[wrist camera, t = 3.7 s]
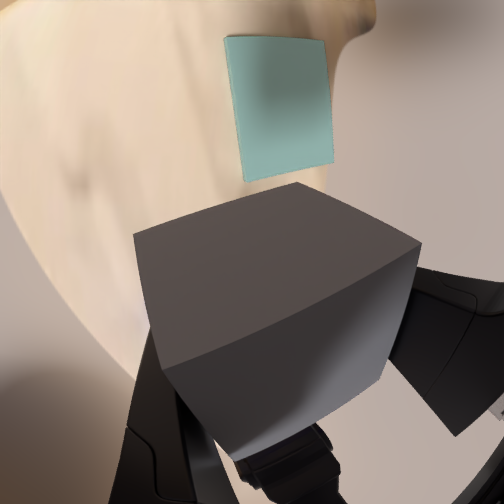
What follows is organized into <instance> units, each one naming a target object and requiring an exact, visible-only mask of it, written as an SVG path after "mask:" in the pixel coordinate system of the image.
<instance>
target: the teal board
mask: <svg viewBox="0 0 504 504" xmlns="http://www.w3.org/2000/svg"><path fill="white" fill-rule="evenodd" d="M224 44H225V51H226V58H227V65H228V72H229V79H230V86H231V93H232V100H233V107H234V114H235V121H236V128H237V135H238V142H239V149H240V156H241V163H242V171H243V178H244V181H245V182H251V181H255V180H259V179H263V178H267V177H271V176H275V175H279V174H284V173H288V172H292V171H297V170H301V169H306V168H311V167H315V166H320V165H325V164H330V163H334V149H333V129H332V113H331V100H330V89H329V79H328V70H327V61H326V53H325V46H324V41H321V40H313V39H303V38H290V37H270V36H238V37H226V38H224Z"/></svg>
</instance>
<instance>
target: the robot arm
mask: <svg viewBox="0 0 504 504" xmlns="http://www.w3.org/2000/svg"><path fill="white" fill-rule="evenodd" d="M388 359H389V360H390V361H391V362H392V364H393V365H394V366H395V367H396V368H397V369H398V370H399V371H400V373H401V374H402V375H403V376H404V377H405V378H406V380H407V381H408V382H409V383H410V384H411V385H412V387H413V388H414V389H415V390H416V391H417V392H418V394H419V395H420V396H421V397H422V398H423V400H424V401H425V402H426V403H427V404H428V405H429V407H430V408H431V409H432V410H433V411H434V413H435V414H436V415H437V416H438V417H439V419H440V420H441V421H442V422H443V423H444V425H445V426H446V427H447V428H448V429H449V431H450V432H451V433H452V434H453V435H454V436H455V437H456V436H457V435H458V434H460V433H461V432H462V431H463V430H465V429H466V428H467V427H468V426H470V425H471V424H472V423H473V422H474V421H475V420H476V419H478V417H480V416H481V415H482V414H483V413H484V412H485V411H486V410H487V409H488V410H489V411H490V412H491V413H492V414H493V415H494V416H495V417H496V418H497V419H498V420H499V421H500V420H501V419H503V420H504V282H494V281H488V280H482V279H475V278H469V277H463V276H458V275H453V274H448V273H443V272H439V271H435V270H433V271H432V270H430V269H425V268H421V267H417V268H416V272H415V276H414V280H413V284H412V287H411V291H410V294H409V298H408V301H407V305H406V308H405V311H404V314H403V318H402V321H401V324H400V327H399V330H398V332H397V335H396V338H395V341H394V344H393V346H392V349H391V352H390V354H389V357H388ZM127 426H128V427H126V429H125V435H124V440H123V445H122V450H121V455H120V460H119V463H118V467H117V471H116V475H115V479H114V483H113V487H112V491H111V494H110V498H109V502H108V504H239V502H238V500H237V497H236V495H235V493H234V490H233V488H232V486H231V483H230V481H229V478H228V476H227V473H226V471H225V468H224V466H223V463H222V461H221V458H220V456H219V453H218V450H217V448H216V445H215V442H214V439H213V437H212V436H211V435H210V434H209V433H208V431H207V430H206V429H205V428H204V426H203V425H202V424H201V423H200V422H199V420H198V419H197V418H196V416H195V415H194V414H193V413H192V411H191V410H190V409H189V407H188V406H187V405H186V403H185V402H184V401H183V399H182V398H181V397H180V395H179V394H178V392H177V391H176V390H175V388H174V387H173V385H172V384H171V383H170V381H169V380H168V378H167V377H166V375H165V374H164V372H163V371H162V368H161V365H160V361H159V358H158V354H157V351H156V347H155V343H154V339H153V335H152V331H151V327H150V329H149V333H148V336H147V340H146V344H145V347H144V351H143V355H142V359H141V363H140V367H139V371H138V375H137V379H136V383H135V387H134V392H133V396H132V401H131V406H130V410H129V415H128V420H127ZM332 450H333V446H332V444H331V442H330V440H329V438H328V437H327V435H326V434H325V432H324V431H323V430H322V429H321V428H320V427H319V426H318V425H317V424H316V422H315V423H313V424H312V425H310V426H308V427H306V428H305V429H303V430H301V431H299V432H297V433H295V434H294V435H292V436H290V437H288V438H286V439H284V440H282V441H280V442H278V443H276V444H274V445H272V446H270V447H268V448H266V449H263V450H261V451H259V452H257V453H255V454H252V455H250V456H248V457H245V458H243V459H241V460H238V461H236V462H234V461H233V462H234V464H235V467H236V469H237V472H238V474H239V477H240V479H241V480H242V481H243V482H247V483H249V484H250V485H251V486H253V488H254V489H255V490H257V489H259V488H262V490H263V491H264V493H265V494H266V496H267V497H268V499H269V500H271V501H272V502H274V503H277V504H347V503H346V502H345V500H344V499H343V498H342V496H341V495H340V493H339V492H338V489H339V475H340V473H341V471H340V464H339V462H338V461H337V460H336V458H335V457H334V455H333V454H332V452H331V451H332ZM452 504H504V437H503V439H502V440H501V442H500V444H499V445H498V447H497V448H496V449H495V451H494V452H493V454H492V455H491V457H490V458H489V459H488V461H487V462H486V463H485V465H484V466H483V468H482V469H481V470H480V471H479V473H478V474H477V475H476V477H475V478H474V479H473V480H472V481H471V483H470V484H469V485H468V486H467V487H466V489H465V490H464V491H463V492H462V493H461V494H460V495H459V496H458V498H457V499H456V500H455V501H454V502H453V503H452Z"/></svg>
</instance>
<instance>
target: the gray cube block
mask: <svg viewBox="0 0 504 504" xmlns="http://www.w3.org/2000/svg"><path fill="white" fill-rule="evenodd" d="M133 237H134V244H135V251H136V257H137V263H138V269H139V275H140V280H141V286H142V291H143V296H144V300H145V305H146V310H147V314H148V319H149V323H150V327H151V331H152V335H153V339H154V343H155V347H156V351H157V354H158V358H159V361H160V365H161V368H162V371H163V372H164V374H165V375H166V377H167V378H168V380H169V381H170V383H171V384H172V385H173V387H174V388H175V390H176V391H177V392H178V394H179V395H180V397H181V398H182V399H183V401H184V402H185V403H186V405H187V406H188V407H189V409H190V410H191V411H192V413H193V414H194V415H195V416H196V418H197V419H198V420H199V422H200V423H201V424H202V425H203V426H204V428H205V429H206V430H207V431H208V433H209V434H210V435H211V436H212V437H213V439H214V440H215V441H216V442H217V443H218V444H219V445H220V447H221V448H222V449H223V450H224V451H225V452H226V453H227V454H228V456H229V457H230V458H231V459H232V460H233V461H234V462H236V461H238V460H241V459H243V458H245V457H248V456H250V455H252V454H255V453H257V452H259V451H261V450H263V449H266V448H268V447H270V446H272V445H274V444H276V443H278V442H280V441H282V440H284V439H286V438H288V437H290V436H292V435H294V434H295V433H297V432H299V431H301V430H303V429H305V428H306V427H308V426H310V425H312V424H313V423H315V422H317V421H318V420H320V419H322V418H323V417H325V416H327V415H328V414H330V413H331V412H333V411H335V410H336V409H338V408H339V407H341V406H342V405H344V404H345V403H347V402H348V401H350V400H351V399H353V398H354V397H355V396H357V395H359V394H360V393H361V392H363V391H364V390H366V389H367V388H368V387H370V386H371V385H372V384H374V383H375V382H376V381H377V380H379V378H380V376H381V374H382V371H383V369H384V367H385V364H386V362H387V359H388V357H389V354H390V352H391V349H392V346H393V344H394V341H395V338H396V335H397V332H398V330H399V327H400V324H401V321H402V318H403V314H404V311H405V308H406V305H407V301H408V298H409V294H410V291H411V287H412V284H413V280H414V276H415V272H416V268H417V263H418V259H419V255H420V250H421V245H422V243H421V242H419V241H418V240H416V239H414V238H412V237H410V236H409V235H407V234H405V233H403V232H401V231H399V230H397V229H396V228H393V227H392V226H390V225H388V224H386V223H384V222H382V221H380V220H378V219H376V218H374V217H372V216H370V215H368V214H366V213H364V212H362V211H360V210H358V209H356V208H354V207H352V206H350V205H348V204H346V203H343V202H341V201H339V200H337V199H335V198H333V197H331V196H328V195H326V194H324V193H322V192H320V191H317V190H315V189H313V188H310V187H308V186H306V185H303V184H301V183H299V182H295V183H292V184H288V185H284V186H281V187H277V188H273V189H270V190H266V191H263V192H259V193H256V194H253V195H249V196H246V197H243V198H239V199H236V200H233V201H229V202H226V203H223V204H220V205H217V206H213V207H210V208H207V209H204V210H201V211H198V212H195V213H192V214H189V215H186V216H183V217H180V218H177V219H174V220H171V221H168V222H165V223H163V224H160V225H157V226H154V227H151V228H148V229H146V230H143V231H140V232H137V233H135V234H133Z"/></svg>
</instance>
